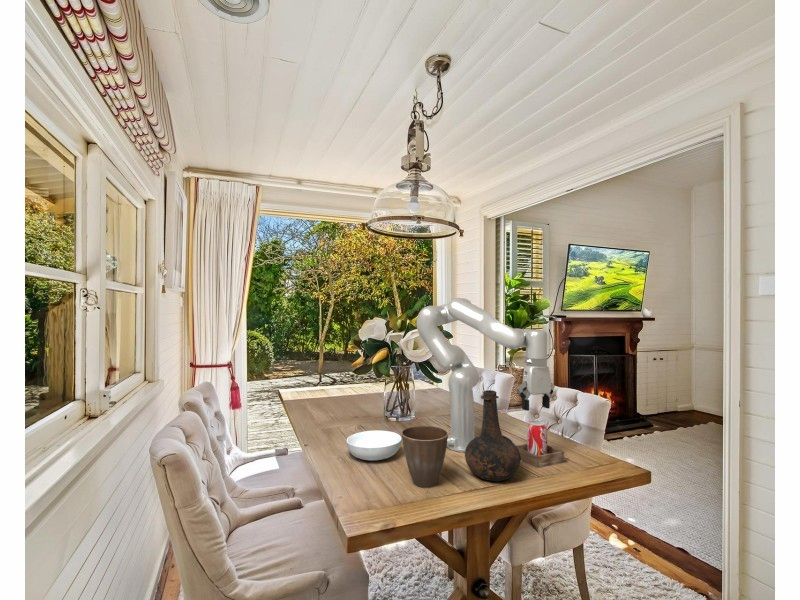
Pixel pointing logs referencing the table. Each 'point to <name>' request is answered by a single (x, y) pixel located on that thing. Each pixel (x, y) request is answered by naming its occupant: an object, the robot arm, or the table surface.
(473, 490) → the table surface
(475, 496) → the table surface
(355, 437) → the serving bowl
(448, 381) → the robot arm
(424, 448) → the plant pot
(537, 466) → the open storage box
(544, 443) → the soda can
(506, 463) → the glass bottle
